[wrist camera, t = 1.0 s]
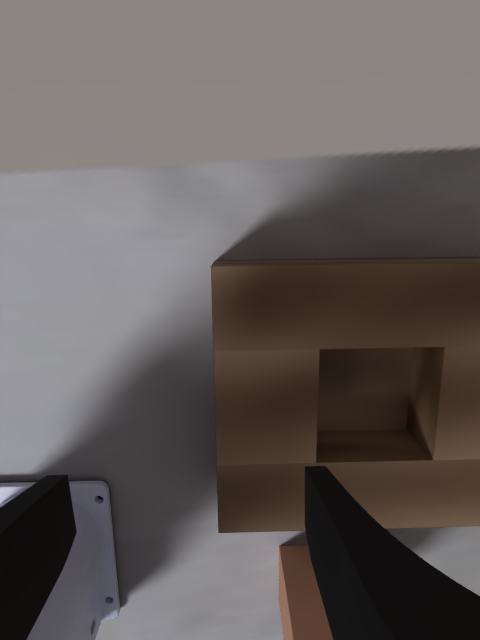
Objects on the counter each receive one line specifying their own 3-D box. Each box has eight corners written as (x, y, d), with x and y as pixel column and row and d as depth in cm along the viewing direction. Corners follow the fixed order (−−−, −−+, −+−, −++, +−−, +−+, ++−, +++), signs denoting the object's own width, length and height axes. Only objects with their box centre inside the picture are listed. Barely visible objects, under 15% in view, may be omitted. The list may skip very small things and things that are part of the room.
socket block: (472, 476, 24) (520, 524, 20) (220, 482, 23) (218, 533, 19) (500, 256, 21) (562, 261, 17) (215, 260, 20) (211, 266, 17)
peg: (341, 597, 25) (389, 760, 17) (278, 599, 25) (299, 764, 17) (343, 544, 24) (396, 690, 17) (279, 545, 24) (301, 693, 16)
